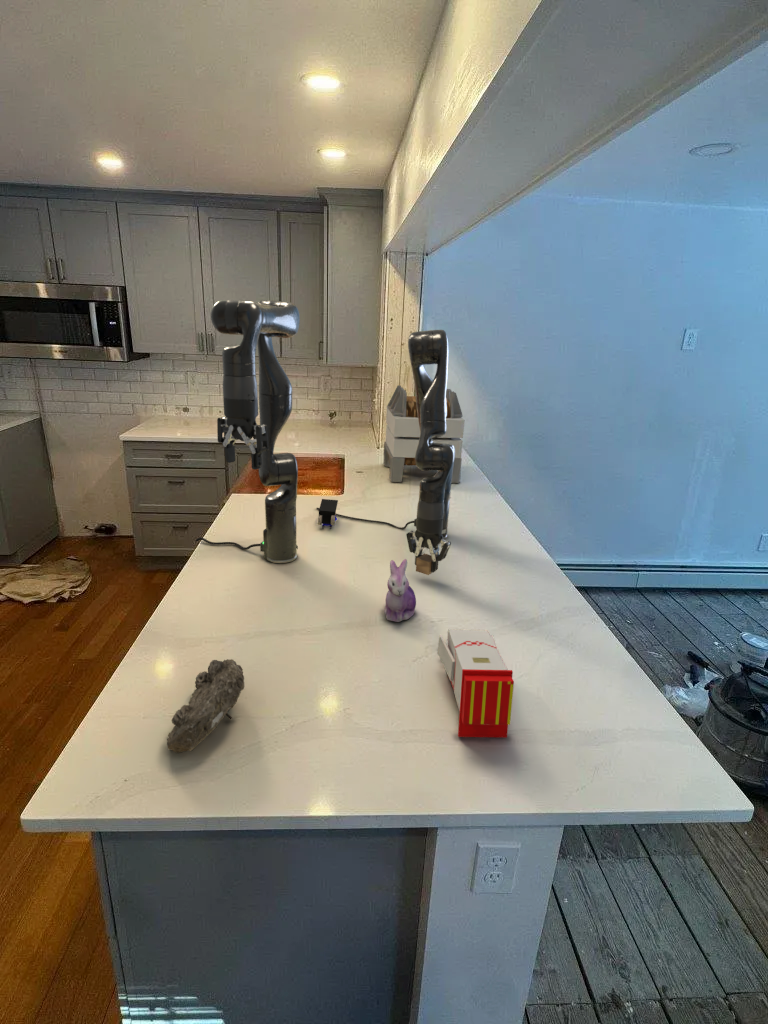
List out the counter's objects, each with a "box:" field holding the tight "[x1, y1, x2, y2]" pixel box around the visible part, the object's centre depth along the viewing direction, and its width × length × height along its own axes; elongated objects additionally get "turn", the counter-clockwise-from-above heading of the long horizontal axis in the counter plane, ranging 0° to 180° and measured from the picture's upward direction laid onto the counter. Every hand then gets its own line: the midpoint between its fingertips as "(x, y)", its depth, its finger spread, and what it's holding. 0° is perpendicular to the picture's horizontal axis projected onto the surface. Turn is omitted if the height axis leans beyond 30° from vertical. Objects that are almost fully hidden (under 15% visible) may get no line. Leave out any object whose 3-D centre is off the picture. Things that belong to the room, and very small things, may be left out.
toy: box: [437, 628, 515, 738], centre depth 117 cm, size 12×13×30 cm
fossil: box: [166, 658, 245, 754], centre depth 106 cm, size 22×10×15 cm
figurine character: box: [317, 498, 339, 530], centre depth 204 cm, size 7×8×15 cm
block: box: [415, 553, 433, 576], centre depth 165 cm, size 4×4×4 cm
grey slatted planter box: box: [383, 384, 465, 484], centre depth 268 cm, size 34×33×41 cm
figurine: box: [384, 558, 417, 623], centre depth 145 cm, size 9×10×15 cm
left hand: (243, 465), depth 132 cm, fingers open, 8 cm apart
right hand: (426, 569), depth 165 cm, fingers closed on block, 4 cm apart
